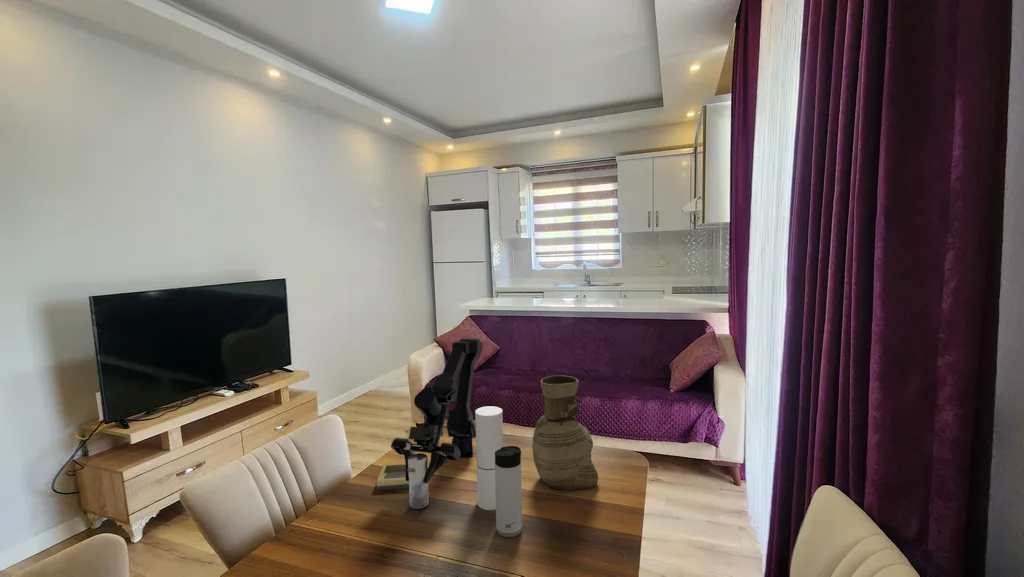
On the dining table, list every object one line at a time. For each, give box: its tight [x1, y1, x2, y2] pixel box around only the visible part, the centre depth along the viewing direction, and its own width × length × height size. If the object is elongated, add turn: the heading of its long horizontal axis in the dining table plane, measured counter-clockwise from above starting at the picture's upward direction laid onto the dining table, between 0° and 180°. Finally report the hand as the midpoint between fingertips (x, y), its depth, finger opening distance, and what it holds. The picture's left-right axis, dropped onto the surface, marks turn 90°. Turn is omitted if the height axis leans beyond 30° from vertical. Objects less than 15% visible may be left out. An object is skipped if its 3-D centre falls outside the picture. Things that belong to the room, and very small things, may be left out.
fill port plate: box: [376, 462, 409, 491], centre depth 124 cm, size 10×10×3 cm
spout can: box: [407, 452, 430, 510], centre depth 110 cm, size 7×5×12 cm
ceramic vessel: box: [531, 374, 599, 491], centre depth 123 cm, size 19×21×30 cm
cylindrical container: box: [474, 405, 504, 511], centre depth 111 cm, size 7×7×25 cm
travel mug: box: [495, 445, 523, 538], centre depth 100 cm, size 6×7×20 cm
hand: (415, 481), depth 109 cm, fingers closed on spout can, 5 cm apart
